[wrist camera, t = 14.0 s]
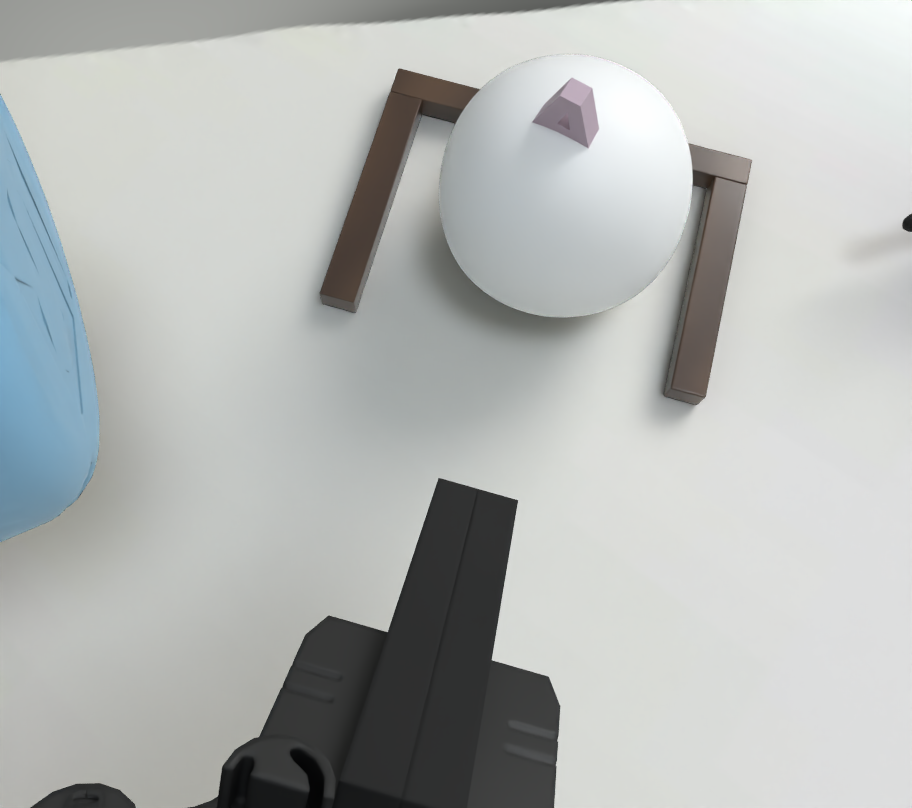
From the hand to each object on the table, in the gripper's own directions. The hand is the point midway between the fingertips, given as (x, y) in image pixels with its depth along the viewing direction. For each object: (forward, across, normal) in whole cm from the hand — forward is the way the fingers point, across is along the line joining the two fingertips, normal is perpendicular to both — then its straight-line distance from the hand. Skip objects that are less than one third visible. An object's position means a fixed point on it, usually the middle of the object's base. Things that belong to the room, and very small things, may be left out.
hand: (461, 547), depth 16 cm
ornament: (+27, 0, -2) cm, 27 cm away
